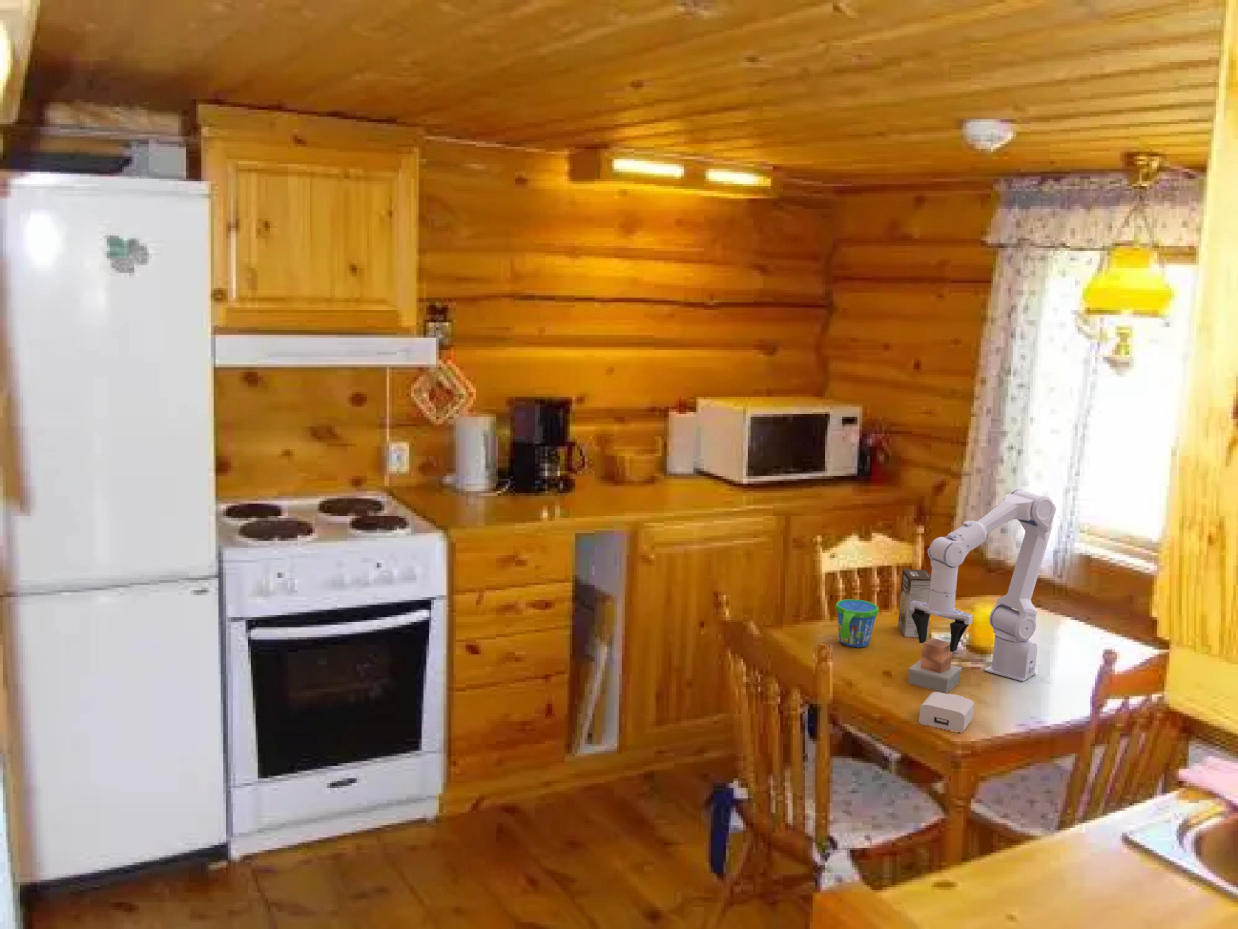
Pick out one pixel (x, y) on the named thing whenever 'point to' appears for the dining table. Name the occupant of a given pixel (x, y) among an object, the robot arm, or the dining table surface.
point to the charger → (946, 711)
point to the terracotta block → (936, 655)
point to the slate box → (934, 677)
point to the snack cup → (855, 621)
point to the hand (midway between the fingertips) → (937, 646)
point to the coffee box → (912, 598)
